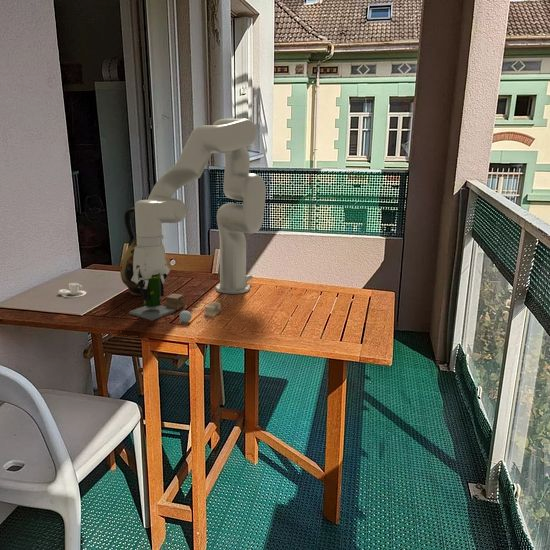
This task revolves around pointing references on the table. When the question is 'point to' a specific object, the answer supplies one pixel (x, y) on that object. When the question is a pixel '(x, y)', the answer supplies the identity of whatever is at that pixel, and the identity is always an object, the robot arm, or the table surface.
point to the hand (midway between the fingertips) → (152, 297)
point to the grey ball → (185, 316)
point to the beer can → (154, 291)
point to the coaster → (152, 312)
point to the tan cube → (174, 301)
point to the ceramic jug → (129, 256)
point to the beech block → (212, 309)
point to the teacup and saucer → (72, 290)
